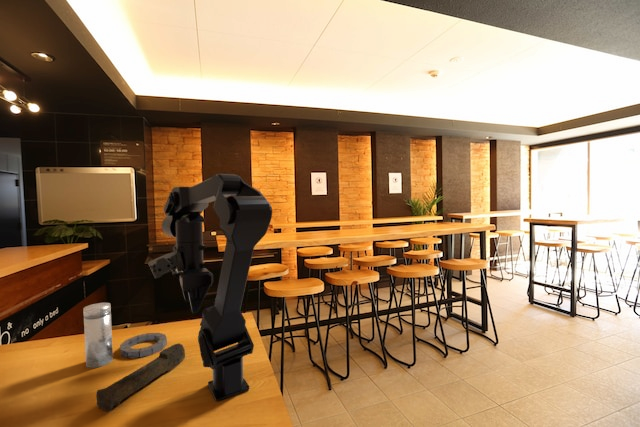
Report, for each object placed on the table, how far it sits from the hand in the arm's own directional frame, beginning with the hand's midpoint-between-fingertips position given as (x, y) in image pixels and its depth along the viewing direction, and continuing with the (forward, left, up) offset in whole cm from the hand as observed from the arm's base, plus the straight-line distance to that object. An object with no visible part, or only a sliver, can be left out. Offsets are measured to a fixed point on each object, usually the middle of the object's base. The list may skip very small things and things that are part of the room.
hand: (191, 306), depth 73 cm
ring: (+11, +9, -12) cm, 19 cm away
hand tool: (-5, +10, -12) cm, 17 cm away
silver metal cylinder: (+9, +18, -12) cm, 24 cm away
